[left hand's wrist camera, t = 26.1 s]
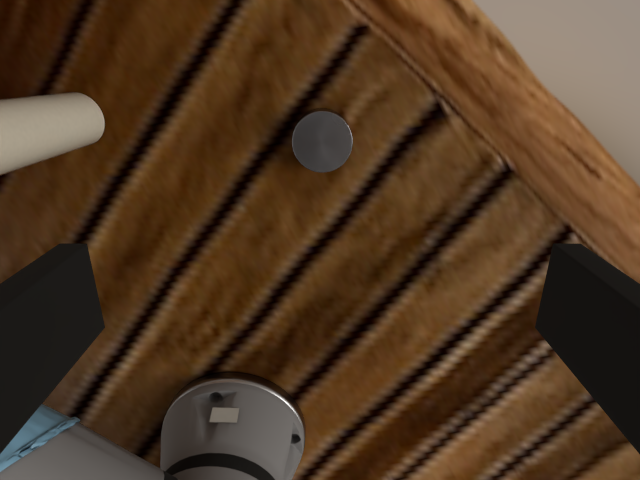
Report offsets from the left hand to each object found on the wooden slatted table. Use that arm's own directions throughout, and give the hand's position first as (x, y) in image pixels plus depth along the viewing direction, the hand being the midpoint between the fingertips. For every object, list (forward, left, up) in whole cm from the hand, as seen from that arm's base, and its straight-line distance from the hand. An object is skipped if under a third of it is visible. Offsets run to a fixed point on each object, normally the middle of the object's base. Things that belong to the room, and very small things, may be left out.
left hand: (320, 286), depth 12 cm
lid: (0, 0, -24) cm, 24 cm away
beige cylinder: (-10, +17, -26) cm, 33 cm away
